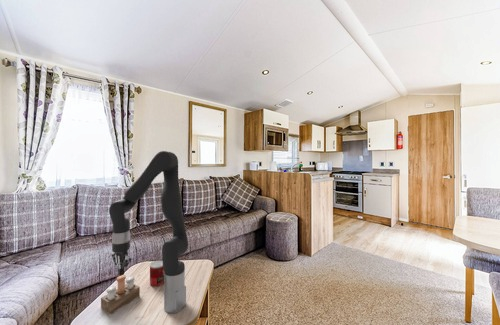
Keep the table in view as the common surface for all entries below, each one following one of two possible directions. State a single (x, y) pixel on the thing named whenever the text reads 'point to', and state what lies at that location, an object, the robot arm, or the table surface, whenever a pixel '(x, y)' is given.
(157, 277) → the canned food
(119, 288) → the plug terracotta
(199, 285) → the table surface
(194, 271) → the table surface
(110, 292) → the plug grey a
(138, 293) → the walnut block
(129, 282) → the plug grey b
